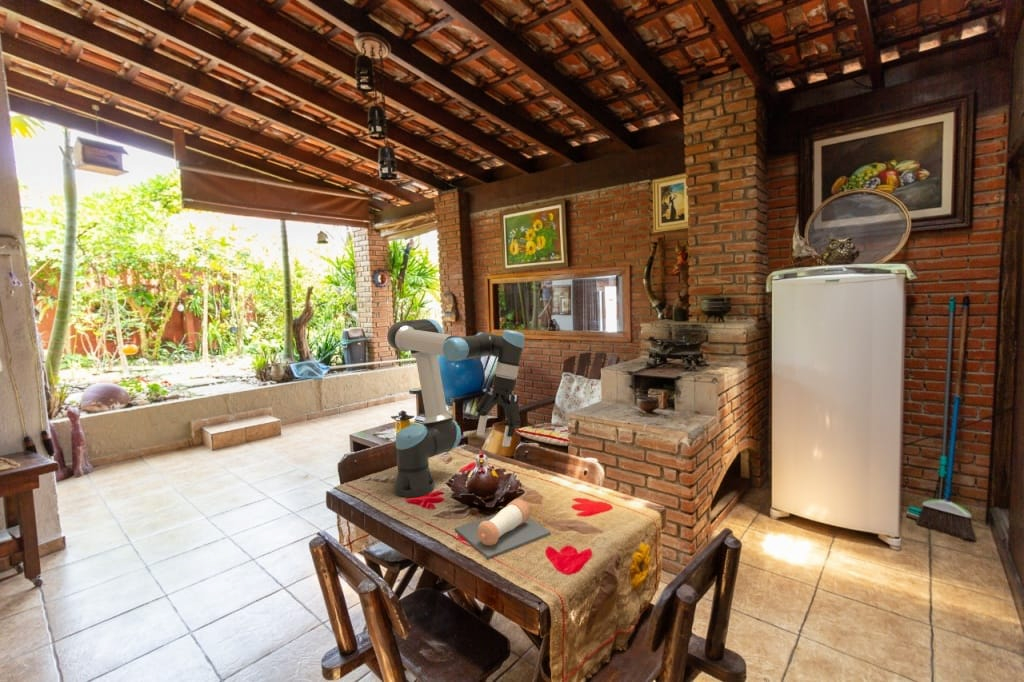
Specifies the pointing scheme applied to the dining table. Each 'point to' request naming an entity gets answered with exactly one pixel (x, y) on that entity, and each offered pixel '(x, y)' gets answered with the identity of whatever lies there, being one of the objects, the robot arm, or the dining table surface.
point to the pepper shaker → (503, 522)
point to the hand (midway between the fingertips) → (492, 440)
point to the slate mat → (505, 542)
